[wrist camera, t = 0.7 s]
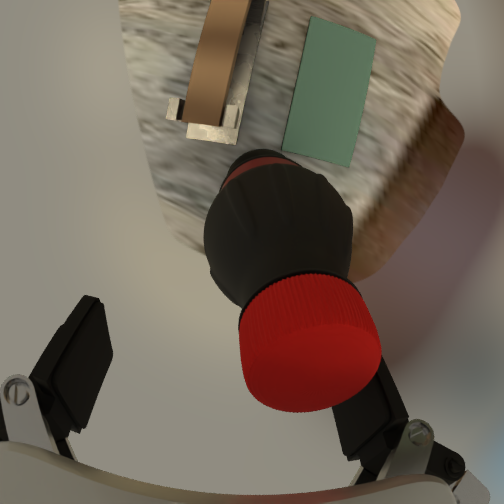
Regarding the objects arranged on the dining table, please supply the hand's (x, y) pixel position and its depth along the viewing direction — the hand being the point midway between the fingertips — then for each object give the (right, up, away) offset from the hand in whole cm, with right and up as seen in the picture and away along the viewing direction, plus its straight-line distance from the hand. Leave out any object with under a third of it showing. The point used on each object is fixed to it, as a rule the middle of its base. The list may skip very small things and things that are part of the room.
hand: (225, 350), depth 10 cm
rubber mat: (+11, +24, +19) cm, 32 cm away
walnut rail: (-2, +22, +10) cm, 24 cm away
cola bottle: (+2, +12, +24) cm, 27 cm away
